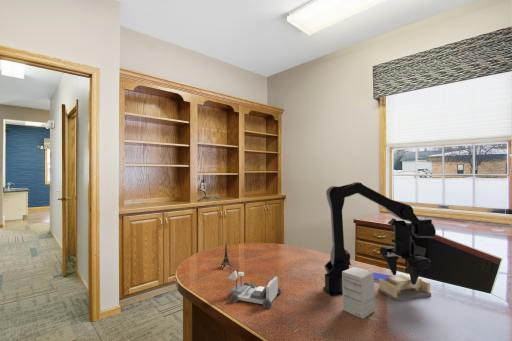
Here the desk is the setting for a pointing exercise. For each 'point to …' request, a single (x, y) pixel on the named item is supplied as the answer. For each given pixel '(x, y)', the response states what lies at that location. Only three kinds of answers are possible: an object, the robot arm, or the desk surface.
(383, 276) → the hard drive
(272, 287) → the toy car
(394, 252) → the robot arm
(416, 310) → the desk surface
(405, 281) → the board
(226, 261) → the eiffel tower figurine
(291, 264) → the desk surface
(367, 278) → the supplement box
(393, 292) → the peg base
